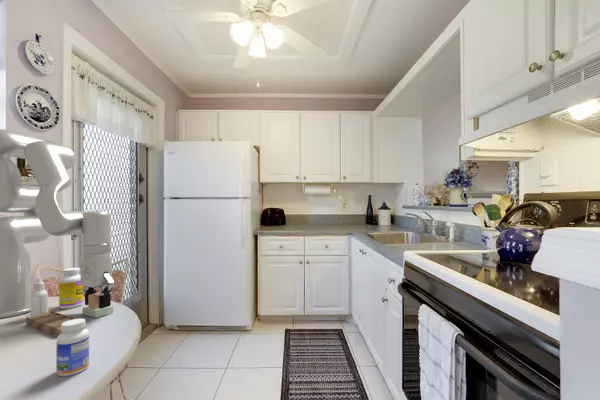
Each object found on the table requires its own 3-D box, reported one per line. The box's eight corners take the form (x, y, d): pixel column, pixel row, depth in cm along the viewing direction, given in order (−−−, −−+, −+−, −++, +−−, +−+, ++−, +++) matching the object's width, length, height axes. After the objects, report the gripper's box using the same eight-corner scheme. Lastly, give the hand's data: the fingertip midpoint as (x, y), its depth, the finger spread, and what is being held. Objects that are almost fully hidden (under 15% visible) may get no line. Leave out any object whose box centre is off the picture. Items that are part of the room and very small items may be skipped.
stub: (82, 314, 95) (82, 294, 95) (99, 309, 99) (99, 290, 99) (96, 317, 91) (95, 298, 91) (113, 312, 95) (112, 293, 95)
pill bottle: (51, 373, 60) (50, 324, 60) (81, 360, 65) (80, 315, 65) (65, 379, 57) (64, 329, 58) (95, 366, 62) (94, 319, 63)
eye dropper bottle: (28, 321, 90) (28, 281, 90) (31, 316, 94) (31, 278, 94) (47, 318, 92) (47, 279, 92) (49, 313, 97) (49, 276, 97)
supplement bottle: (77, 308, 101) (77, 270, 101) (54, 310, 99) (54, 271, 100) (87, 302, 107) (86, 266, 108) (66, 304, 106) (65, 267, 106)
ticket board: (26, 324, 87) (26, 317, 87) (51, 317, 92) (51, 310, 92) (59, 337, 78) (59, 328, 78) (85, 328, 83) (85, 320, 83)
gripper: (69, 250, 96) (70, 305, 96) (99, 252, 88) (100, 313, 87) (94, 247, 103) (95, 298, 102) (124, 249, 94) (125, 305, 94)
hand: (97, 305), depth 95 cm, fingers open, 7 cm apart
